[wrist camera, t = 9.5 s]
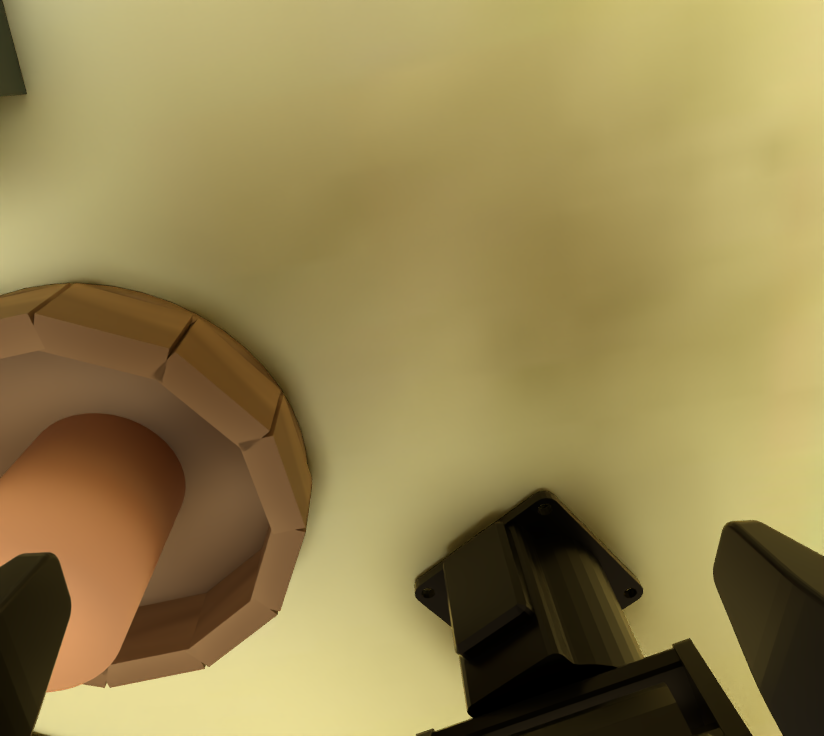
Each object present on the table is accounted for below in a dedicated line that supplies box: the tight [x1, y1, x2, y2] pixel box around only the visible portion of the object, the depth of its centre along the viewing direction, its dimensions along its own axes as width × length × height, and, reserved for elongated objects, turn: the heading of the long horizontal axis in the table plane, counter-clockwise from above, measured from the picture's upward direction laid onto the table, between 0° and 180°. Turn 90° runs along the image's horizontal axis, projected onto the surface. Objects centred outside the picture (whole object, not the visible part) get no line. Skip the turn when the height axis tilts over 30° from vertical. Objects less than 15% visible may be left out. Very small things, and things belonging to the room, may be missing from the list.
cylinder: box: [0, 413, 186, 692], centre depth 19 cm, size 5×5×6 cm
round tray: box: [0, 283, 312, 688], centre depth 20 cm, size 13×13×3 cm
